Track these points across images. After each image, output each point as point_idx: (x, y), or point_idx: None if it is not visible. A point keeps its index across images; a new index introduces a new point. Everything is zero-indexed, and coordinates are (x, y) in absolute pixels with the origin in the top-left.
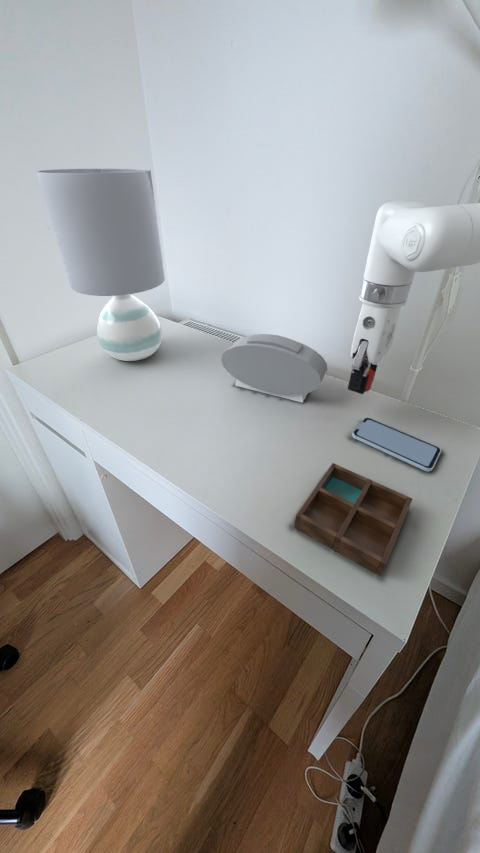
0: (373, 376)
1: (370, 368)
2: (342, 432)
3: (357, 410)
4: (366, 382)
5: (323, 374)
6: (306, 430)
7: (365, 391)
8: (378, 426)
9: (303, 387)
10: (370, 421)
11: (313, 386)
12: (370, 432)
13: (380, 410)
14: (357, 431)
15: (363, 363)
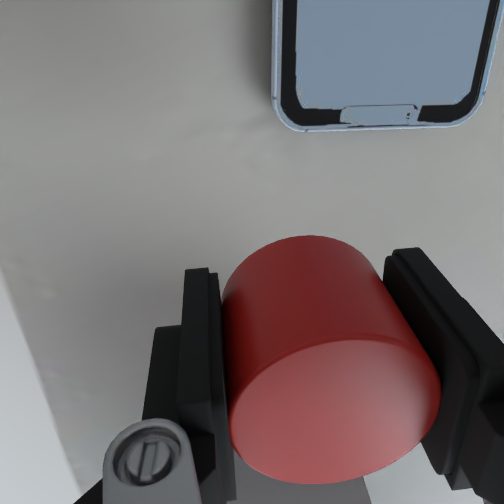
0: (339, 317)
1: (236, 405)
2: (428, 168)
3: (203, 194)
4: (474, 313)
5: (289, 491)
6: (485, 287)
7: (354, 248)
8: (328, 21)
9: None
10: (308, 86)
11: None
12: (412, 40)
13: (103, 90)
14: (439, 107)
15: (235, 490)
